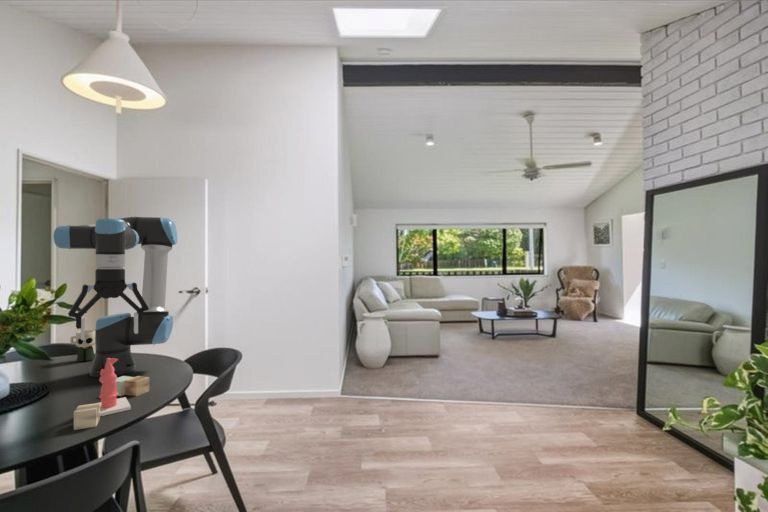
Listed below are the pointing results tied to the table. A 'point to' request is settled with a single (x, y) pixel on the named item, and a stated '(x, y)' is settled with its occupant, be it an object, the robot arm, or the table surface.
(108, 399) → the figurine
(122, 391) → the sage block
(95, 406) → the maple block
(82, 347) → the character mug
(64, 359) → the table surface
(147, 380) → the oak block
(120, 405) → the coaster
